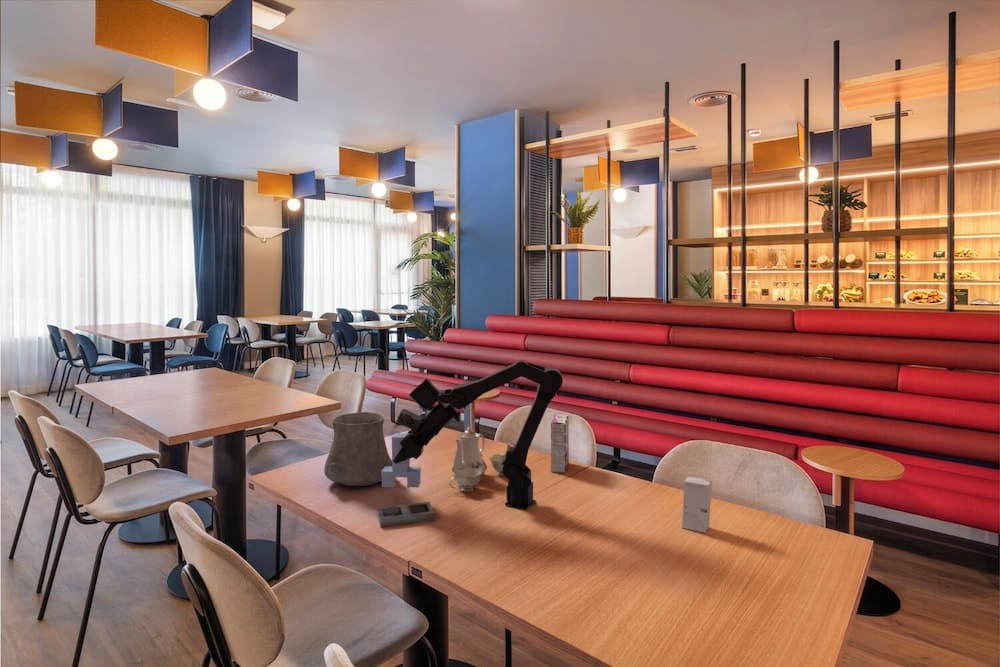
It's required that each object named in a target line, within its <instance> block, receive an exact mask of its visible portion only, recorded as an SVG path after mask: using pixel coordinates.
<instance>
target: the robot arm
mask: <svg viewBox="0 0 1000 667" xmlns="http://www.w3.org/2000/svg"><path fill="white" fill-rule="evenodd" d="M520 377H521V378H525V379H527V380H529V381H532V382H533V383H536V384H538V385H537V390H536V394H535V395H536V396H535V398H534V400H533V403H532V405H531V407H530V410H529V411H528V414H527V417H526V418H525V421H524V424H523V425H522V427H521V431H520V433H519V435H518V438H517V440H516V442H515V443H514V444H513V445H510V444H507V445H506V446H507V448H506V451H505V453H504V454H503V455H504V456H503V455H502V456H503V457H502V465H503V469H502V471H503V474H504V477H505V479H507V480H508V481H507V486H506V502H505V503H504V505H505V506H507V507H512V508H517V509H521V510H526V509H528V508H529V507H530V508H531V506H533V505H535V503H536V502H537V500H536V499H534V482H533V481H532V469H531V468H529V467H528V466H527V464H526V462H527V458H528V454H529V450H530V447H531V445H532V442H533V440H534V438H535V436H536V433H537V431H538V430H539V429H538V428H539V426H540V425H541V421H542V420H543V417H544V415H545V413H546V410H547V408H548V406H549V404H550V402H552V400H553V399H554V397H555V396H556V395H557V394H558V392H559V390H560V389H561V387H562V385H563V383H564V382H563V376H562V374H561V371H560V370H559V369H558V367H555V366H548V367H545V366H541V365H539V364H535V363H532V362H528V361H526V360H524V359H520V360H517V361H516V362H514V363H513V364H511V365H508V366H506V367H504V368H502V369H500V370H497V371H495V372H492V373H490V374H489V375H486V376H484V377H482V378H479V379H477V380H472V381H467V382H464V383H460V384H456V385H455V386H454V387H452V388H448V389H441V390H439V389H438V388H437V386H435V385H434V384H433V383H432V381H431V380H430V379H429V378H428V377H426V378H425V379H424V380H423V381H422V382H421V383H419V384H418V385H417V386H416V387H414V389H413V390H412V391H411V392H410V393H409V394H408V396H409V397H410V398H411V399H412V401H414V402H415V403H416V404H417V405H418V406H419V408H421V409H422V410H430V409H431V408H432V407H433V406H434V405H435V406H434V407H433V408H432V409H431V410H430V411H429V412H428V413H427V414H424V415H423V416H420V415H419V414H417V413H414V412H412V411H411V410H408V409H404V408H403V409H401V410H400V412H399V414H398V416H397V418H396V421H395V423H396V424H398V425H402V426H404V427H406V428H408V429H410V430H408V431H407V433H406V434H409V435H406V436H405V437H404V438H403V439H402V440H401V442H400V445H401V446H402V448H401V450H400V451H399V453H398V454H397V456H396V457H395V459H394V460H393V462H394V463H395V464H396V463H399V462H402V461H404V460H407V459H412V458H413V459H414V460H417V459H418V458H419V457H420V456H422V454H423V453H424V446H425V447H426V446H428V444H429V443H430V441H432V439H433V438H434V437H436V436H438V434H440V431H442V430H443V429H444V428H445V427H447V425H448V424H449V423H450V422H451V421H452V420H453V419H454V420H455V421H456V422H457V423H460V422H461V420H462V409H465V408H466V407H467V406H469V405H470V404H472V403H474V402H475V401H476V400H477V399H478V398H480V397H481V396H483V395H484V394H486V393H489V392H491V391H492V390H494V389H497V388H499V387H502V386H503V385H506V384H508V383H510V382H512V381H514V380H517V379H519V378H520ZM436 403H437V404H436Z"/></svg>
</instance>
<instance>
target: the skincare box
mask: <svg viewBox="0 0 1000 667" xmlns="http://www.w3.org/2000/svg"><path fill="white" fill-rule="evenodd" d="M683 482H684V483H683V484H684V485H683V497H682V498H683V499H682V516H681V517H682V519H681V528H682V529H687V530H690V531H691V530H692V531H695V532H700V533H706V532H707V531H708V529H709V527H710V516H711V515H710V514H711V503H712V502H711V501H712V499H711V498H712V486H713V481H712V480H710V479H705V478H700V477H694V476H693V477H692V476H690V475H689V476H687V477H686V478H685V480H684V481H683Z"/></svg>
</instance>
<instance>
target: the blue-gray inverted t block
mask: <svg viewBox="0 0 1000 667" xmlns="http://www.w3.org/2000/svg"><path fill="white" fill-rule="evenodd" d="M406 435H409V434H407V433H401V432H400V433H398V432H397V433H396V432H395V433H394V434H393V435H392V436H391V460H392V466H385V467H384V469H383V470H382V471H381V477H382V480H381V487H382V488H393V487H394V486H395V485H396V482H397V479H396V478H406V481H407V482H406V485H407V488H419V487H420V485H421V483H422V482H421V472H422V470H421V466H410V464H411V460H410V459H411V458H410V459H407V460H404V461H402V462H399V463H396V464H395V463H394V462H393V460H394V459H395V457H396V456H397V454H398V453H399V451H400V450H401V448H402V446H401V445H400V442H401V440H402V439H403V438H404V437H405V436H406Z"/></svg>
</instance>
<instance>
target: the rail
mask: <svg viewBox="0 0 1000 667" xmlns="http://www.w3.org/2000/svg"><path fill="white" fill-rule="evenodd" d="M376 513H377V514H376V516H377V519H378V523H379V527H380V528H386V527H387V528H388V527H394V526H402V525H409V524H410V525H411V524H417V523H419V524H420V523H425V522H426V523H427V522H435V521H436V513H435V510H434V508H433V506H432V504H431V502H430V501H424V502H414V503H407V504H398V505H389V506H388V505H387V506H380V507H376Z"/></svg>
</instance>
